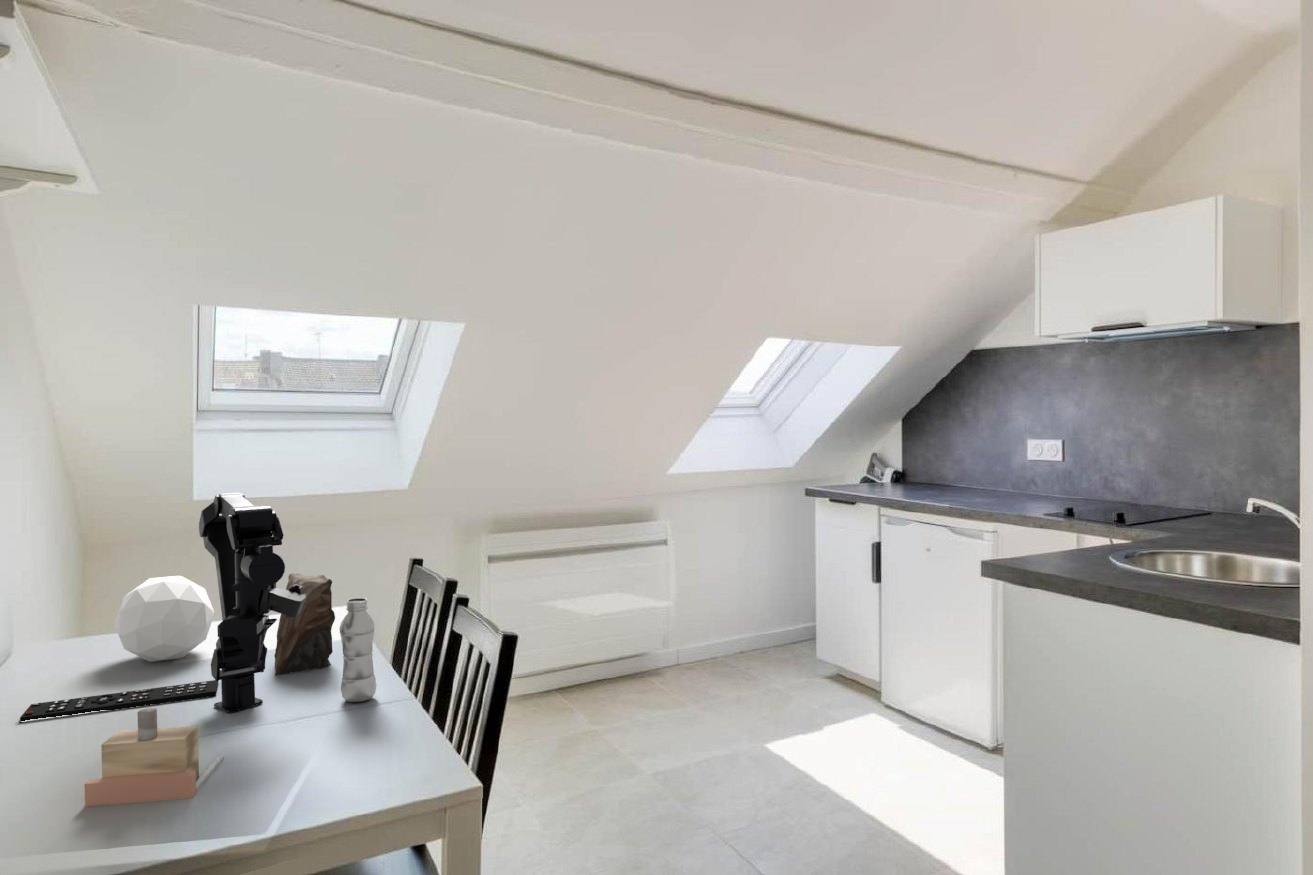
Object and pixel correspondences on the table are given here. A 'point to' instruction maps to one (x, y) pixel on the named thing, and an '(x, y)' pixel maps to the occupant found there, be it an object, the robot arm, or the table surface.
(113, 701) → the remote control
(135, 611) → the ball
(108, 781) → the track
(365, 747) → the table surface
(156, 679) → the table surface
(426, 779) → the table surface
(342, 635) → the plastic bottle
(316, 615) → the brown rock
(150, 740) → the plate
